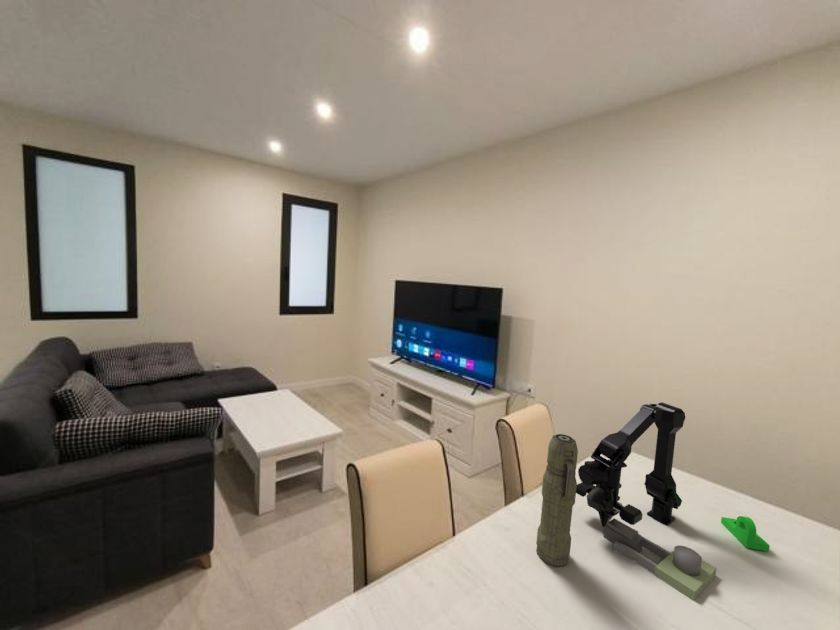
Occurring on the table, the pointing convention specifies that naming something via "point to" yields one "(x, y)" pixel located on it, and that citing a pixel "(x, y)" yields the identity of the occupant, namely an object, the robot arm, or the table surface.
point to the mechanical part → (745, 532)
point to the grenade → (557, 501)
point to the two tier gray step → (623, 535)
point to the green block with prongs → (674, 566)
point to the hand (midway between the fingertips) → (604, 526)
